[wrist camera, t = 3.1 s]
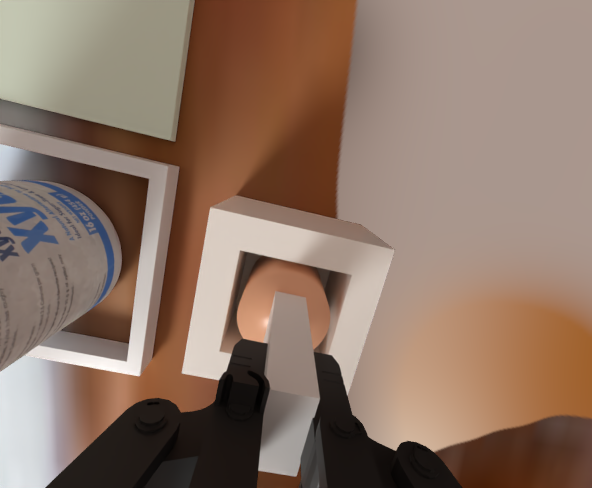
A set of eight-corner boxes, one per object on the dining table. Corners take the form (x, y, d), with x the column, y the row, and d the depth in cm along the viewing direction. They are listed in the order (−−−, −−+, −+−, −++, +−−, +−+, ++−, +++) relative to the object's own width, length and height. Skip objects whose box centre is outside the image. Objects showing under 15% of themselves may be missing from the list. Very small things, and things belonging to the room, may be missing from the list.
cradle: (151, 359, 23) (139, 376, 21) (-53, 321, 22) (-85, 335, 20) (179, 166, 20) (168, 166, 18) (-60, 109, 19) (-100, 102, 17)
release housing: (328, 335, 23) (345, 403, 17) (213, 312, 23) (181, 373, 16) (361, 224, 21) (395, 249, 14) (235, 195, 21) (210, 207, 14)
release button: (310, 320, 20) (317, 367, 15) (243, 306, 20) (229, 350, 15) (327, 256, 19) (341, 285, 14) (257, 240, 19) (246, 264, 14)
